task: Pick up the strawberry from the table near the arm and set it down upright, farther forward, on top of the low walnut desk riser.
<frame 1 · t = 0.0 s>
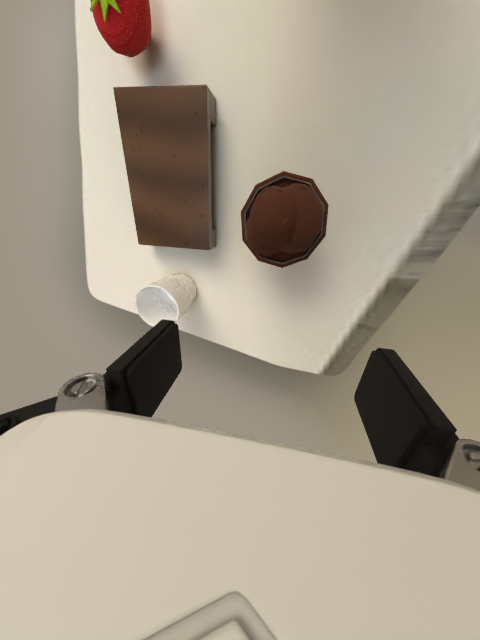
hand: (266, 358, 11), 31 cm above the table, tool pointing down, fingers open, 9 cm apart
white cup: (181, 288, 45), on the table
ice cream bowl: (283, 220, 36), on the table
desk riser: (178, 181, 36), on the table
strawberry: (147, 40, 29), on the table
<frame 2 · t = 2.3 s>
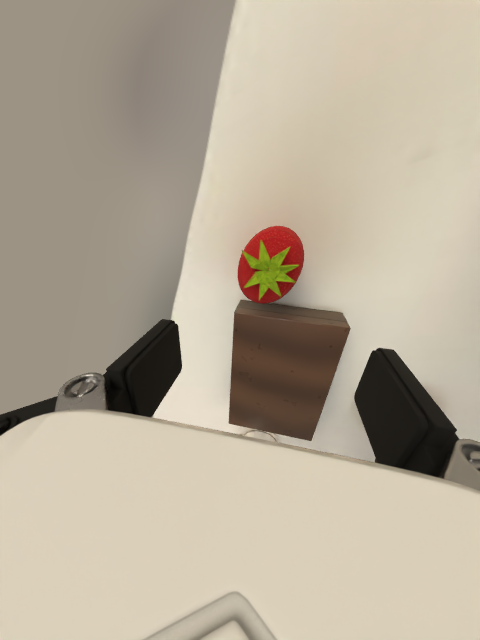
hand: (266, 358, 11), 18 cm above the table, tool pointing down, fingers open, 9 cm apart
desk riser: (278, 366, 32), on the table
strawberry: (272, 256, 26), on the table
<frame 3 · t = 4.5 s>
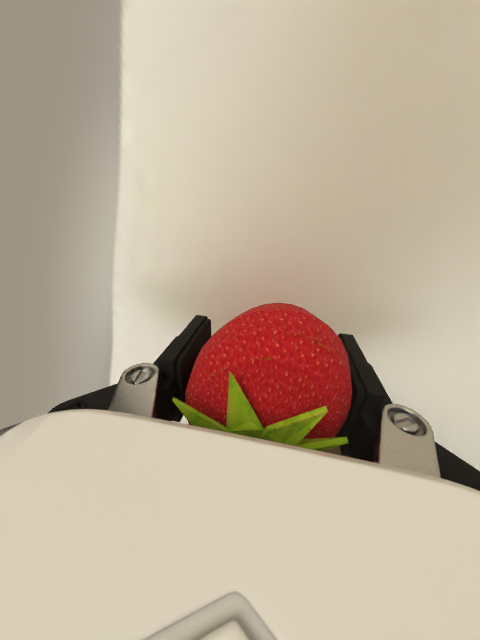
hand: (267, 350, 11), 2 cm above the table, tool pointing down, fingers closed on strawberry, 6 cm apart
strawberry: (270, 326, 13), on the table, touching gripper
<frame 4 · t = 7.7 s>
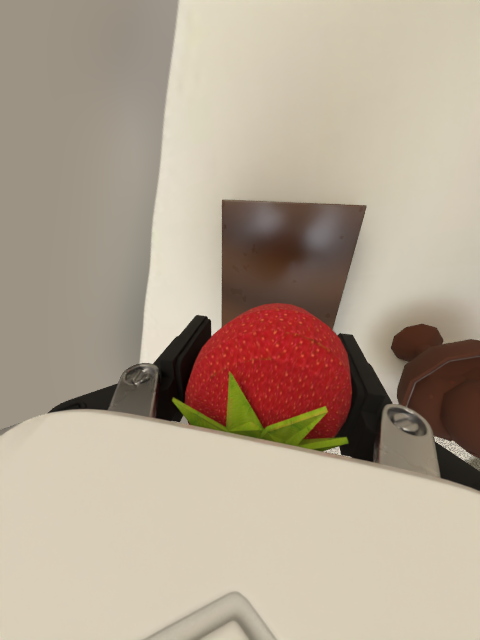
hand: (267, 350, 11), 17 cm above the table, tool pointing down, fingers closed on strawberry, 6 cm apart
ice cream bowl: (414, 342, 28), on the table
desk riser: (278, 291, 28), on the table
strawberry: (270, 326, 13), point 15 cm above the table, touching gripper
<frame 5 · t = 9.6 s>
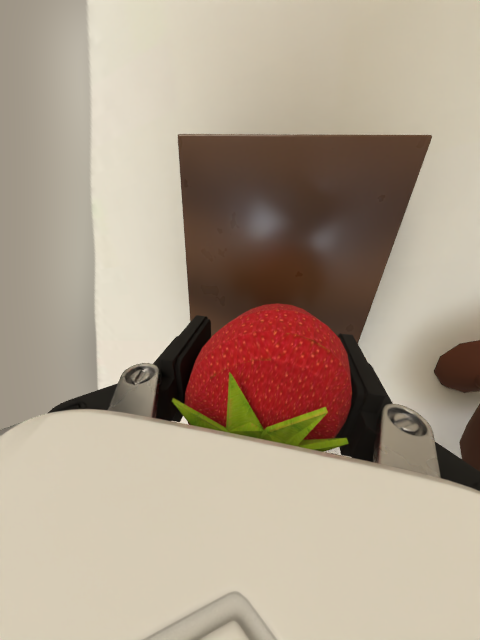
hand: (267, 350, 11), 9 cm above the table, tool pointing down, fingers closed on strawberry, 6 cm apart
ice cream bowl: (470, 364, 19), on the table
desk riser: (274, 291, 19), on the table
strawberry: (270, 326, 13), point 7 cm above the table, touching gripper
when the fingers open (6 cm above the table, at t = 10.9 s): strawberry stays where it is, resting on desk riser.
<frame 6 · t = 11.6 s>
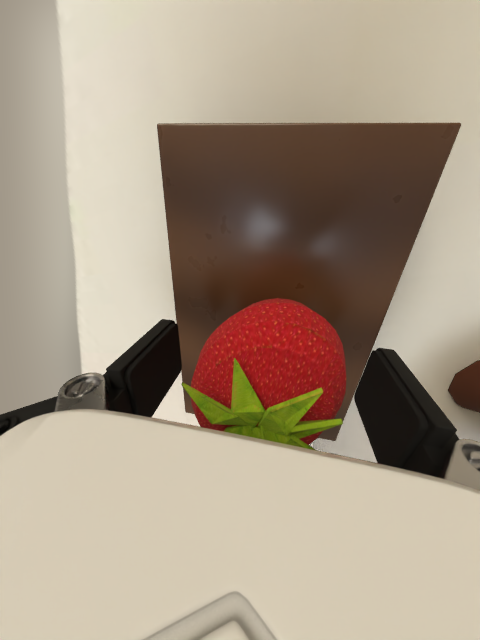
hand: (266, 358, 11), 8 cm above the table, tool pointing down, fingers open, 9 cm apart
desk riser: (272, 301, 17), on the table
strawberry: (270, 322, 14), point 4 cm above the table, touching desk riser
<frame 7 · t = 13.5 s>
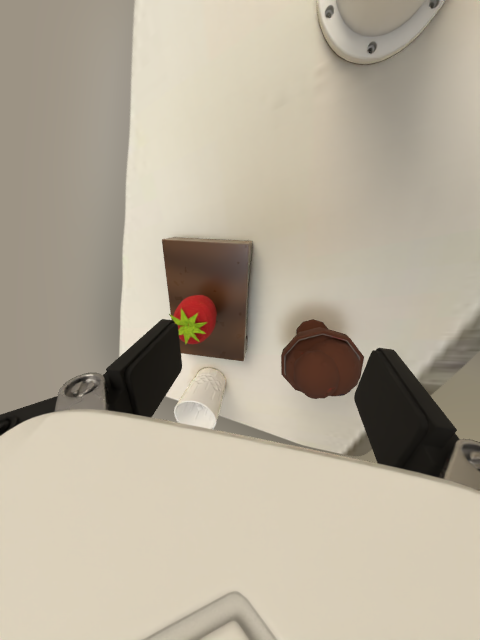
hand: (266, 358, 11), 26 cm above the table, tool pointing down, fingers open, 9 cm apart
white cup: (211, 379, 47), on the table
ice cream bowl: (311, 333, 38), on the table
desk riser: (213, 298, 39), on the table
strawberry: (207, 305, 35), point 4 cm above the table, touching desk riser
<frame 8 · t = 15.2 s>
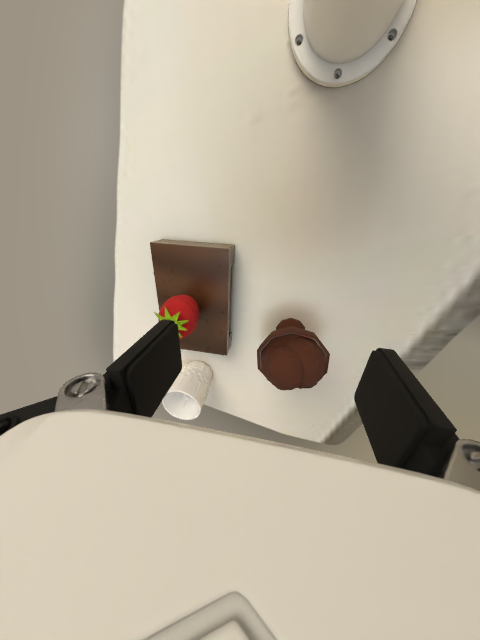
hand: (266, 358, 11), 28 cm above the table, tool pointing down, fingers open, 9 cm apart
white cup: (199, 371, 51), on the table
ice cream bowl: (290, 330, 41), on the table
desk riser: (199, 296, 41), on the table
strawberry: (192, 303, 38), point 4 cm above the table, touching desk riser
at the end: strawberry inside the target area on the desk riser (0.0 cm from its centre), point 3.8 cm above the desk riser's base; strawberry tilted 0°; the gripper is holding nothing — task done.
